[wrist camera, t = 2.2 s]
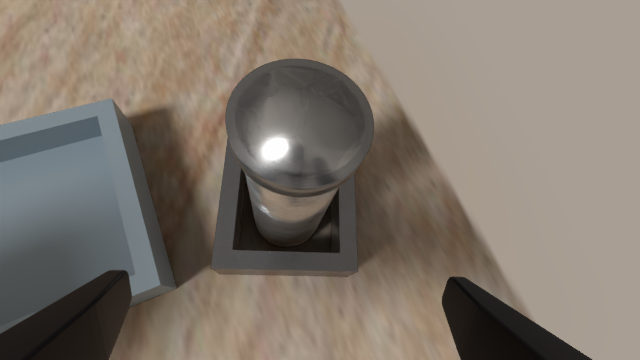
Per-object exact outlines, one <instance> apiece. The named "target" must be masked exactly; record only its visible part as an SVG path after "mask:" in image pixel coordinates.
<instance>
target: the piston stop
mask: <svg viewBox="0 0 640 360" xmlns="http://www.w3.org/2000/svg"><path fill="white" fill-rule="evenodd" d="M225 122H226V130H227V135H228V138H229V142H230V146H231V149H232V152H233V155H234V157H235V159H236V161H237V163H238V165H239V166H240V167H241V169H242V170H243V171H244V172H245V175H246V180H247V185H248V190H249V195H250V199H251V204H252V209H253V214H254V219H255V224H256V227H257V229H258V231H259V232H260V234H261V235H262V236H263V237H264V238H265V239H266V240H267V241H269V242H270V243H272V244H275V245H278V246H282V247H292V246H296V245H299V244H302V243H303V242H305V241H306V240H308V239H309V238H310V237H311V236H312V235H313V234H314V232H315V230H316V229H317V227H318V225H319V223H320V221H321V219H322V217H323V216H324V214H325V212H326V210H327V208H328V206H329V204H330V203H331V201H332V199H333V197H334V195H335V193H336V191H337V190H338V188H339V187H340V186H341V185H343V184H344V183H345V182H347V181H348V180H349V179H350V178H351V177H352V176H353V175H354V173H355V172H356V171H357V169H358V168H359V166H360V164H361V163H362V161H363V159H364V158H365V156H366V154H367V153H368V151H369V148H370V146H371V143H372V139H373V134H374V119H373V114H372V110H371V108H370V105H369V102H368V101H367V99H366V97H365V95H364V94H363V92H362V91H361V89H360V88H359V87H358V86H357V85H356V84H355V83H354V82H353V81H352V80H351V79H350V78H349V77H348V76H346V75H345V74H343V73H342V72H340V71H339V70H337V69H335V68H333V67H331V66H329V65H326V64H323V63H320V62H317V61H312V60H306V59H284V60H278V61H273V62H270V63H267V64H265V65H262V66H260V67H258V68H256V69H255V70H253V71H252V72H250V73H249V74H248V75H246V76H245V77H244V78H243V79H242V80H241V81H240V82H239V83H238V84H237V86H236V87H235V89H234V90H233V92H232V94H231V96H230V98H229V101H228V104H227V108H226V115H225Z"/></svg>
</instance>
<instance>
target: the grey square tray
mask: <svg viewBox="0 0 640 360" xmlns="http://www.w3.org/2000/svg"><path fill="white" fill-rule="evenodd" d="M245 180H246V175H245V172H244V171H243V170H242V169H241V167H240V166H239V165H238V163H237V161H236V159H235V157H234V155H233V152H232V149H231V146H230V142H229V138H228V140H227V147H226V155H225V163H224V171H223V178H222V186H221V194H220V202H219V209H218V217H217V225H216V232H215V240H214V248H213V256H212V263H211V269H213V270H214V271H216V272H217V273H219V274H239V275H288V276H338V277H347V276H349V275H352V274H354V273H356V272H358V262H357V234H356V206H355V178H354V175H353V176H352V177H351V178H350V179H349V180H348V181H347V182H345V183H344V184H343V185H341V186H340V187H339V188H338V190H337V191H336V193H335V195H334V197H333V199H332V201H331V253H318V252H284V251H250V250H239V240H240V230H241V220H242V210H243V200H244V190H245Z"/></svg>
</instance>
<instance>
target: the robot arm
mask: <svg viewBox="0 0 640 360" xmlns="http://www.w3.org/2000/svg"><path fill="white" fill-rule="evenodd" d="M131 299H132V292H131V286H130V280H129V274H128V272H127V271H126V270H108V271H106V272H105V273H103V274H101V275H100V276H98V277H96V278H94V279H93V280H91V281H89V282H88V283H86V284H84V285H82V286H81V287H79V288H77V289H76V290H74V291H72V292H71V293H69V294H67V295H65V296H64V297H62V298H60V299H59V300H57V301H55V302H53V303H52V304H50V305H48V306H47V307H45V308H43V309H41V310H40V311H38V312H36V313H35V314H33V315H31V316H29V317H28V318H26V319H24V320H23V321H21V322H19V323H18V324H16V325H14V326H12V327H11V328H9V329H7V330H6V331H4V332H2V333H0V360H109V357H110V355H111V352H112V350H113V347H114V345H115V342H116V340H117V337H118V334H119V332H120V329H121V327H122V324H123V322H124V319H125V316H126V314H127V311H128V309H129V306H130V303H131ZM442 306H443V309H444V312H445V315H446V318H447V321H448V324H449V327H450V330H451V333H452V336H453V339H454V342H455V345H456V348H457V350H458V353H459V356H460V358H461V360H592V359H590V358H589V357H587V356H586V355H584V354H583V353H581V352H580V351H578V350H576V349H575V348H573V347H572V346H570V345H569V344H567V343H565V342H564V341H563V340H561V339H559V338H558V337H556V336H555V335H553V334H552V333H550V332H548V331H547V330H546V329H544V328H542V327H541V326H539V325H538V324H536V323H535V322H533V321H532V320H530V319H528V318H527V317H525V316H524V315H522V314H521V313H519V312H518V311H516V310H514V309H513V308H511V307H510V306H508V305H507V304H505V303H504V302H502V301H500V300H499V299H497V298H496V297H494V296H493V295H491V294H490V293H488V292H486V291H485V290H483V289H482V288H480V287H479V286H477V285H476V284H474V283H473V282H471V281H469V280H468V279H466V278H465V277H450V278H449V279H448V281H447V284H446V287H445V290H444V293H443V296H442Z"/></svg>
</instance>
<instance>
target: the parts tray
mask: <svg viewBox="0 0 640 360" xmlns="http://www.w3.org/2000/svg"><path fill="white" fill-rule="evenodd" d="M108 270H126V271H127V272H128V274H129V280H130V286H131V292H132V299H131V303H130V306H129V308H130V307H132V306H135V305H137V304H139V303H142V302H144V301H147V300H149V299H152V298H154V297H157V296H159V295H162V294H164V293H167V292H169V291H172V290H174V289H177V288H176V284H175V281H174V277H173V273H172V270H171V266H170V263H169V259H168V255H167V252H166V248H165V244H164V241H163V237H162V234H161V230H160V226H159V223H158V219H157V215H156V212H155V208H154V205H153V201H152V197H151V194H150V190H149V186H148V183H147V179H146V176H145V172H144V168H143V165H142V161H141V157H140V154H139V150H138V147H137V143H136V139H135V136H134V132H133V128H132V125H131V123H130V122H129V120H128V119H127V118H126V116H125V115H124V114H123V113H122V111H121V110H120V109H119V107H118V106H117V105H116V103H115V102H114V101H113V99H112V98H111V99H107V100H103V101H99V102H95V103H91V104H86V105H82V106H78V107H74V108H70V109H66V110H62V111H57V112H53V113H49V114H45V115H41V116H37V117H32V118H28V119H24V120H20V121H16V122H12V123H7V124H3V125H0V333H2V332H4V331H6V330H7V329H9V328H11V327H12V326H14V325H16V324H18V323H19V322H21V321H23V320H24V319H26V318H28V317H29V316H31V315H33V314H35V313H36V312H38V311H40V310H41V309H43V308H45V307H47V306H48V305H50V304H52V303H53V302H55V301H57V300H59V299H60V298H62V297H64V296H65V295H67V294H69V293H71V292H72V291H74V290H76V289H77V288H79V287H81V286H82V285H84V284H86V283H88V282H89V281H91V280H93V279H94V278H96V277H98V276H100V275H101V274H103V273H105V272H106V271H108Z"/></svg>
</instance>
